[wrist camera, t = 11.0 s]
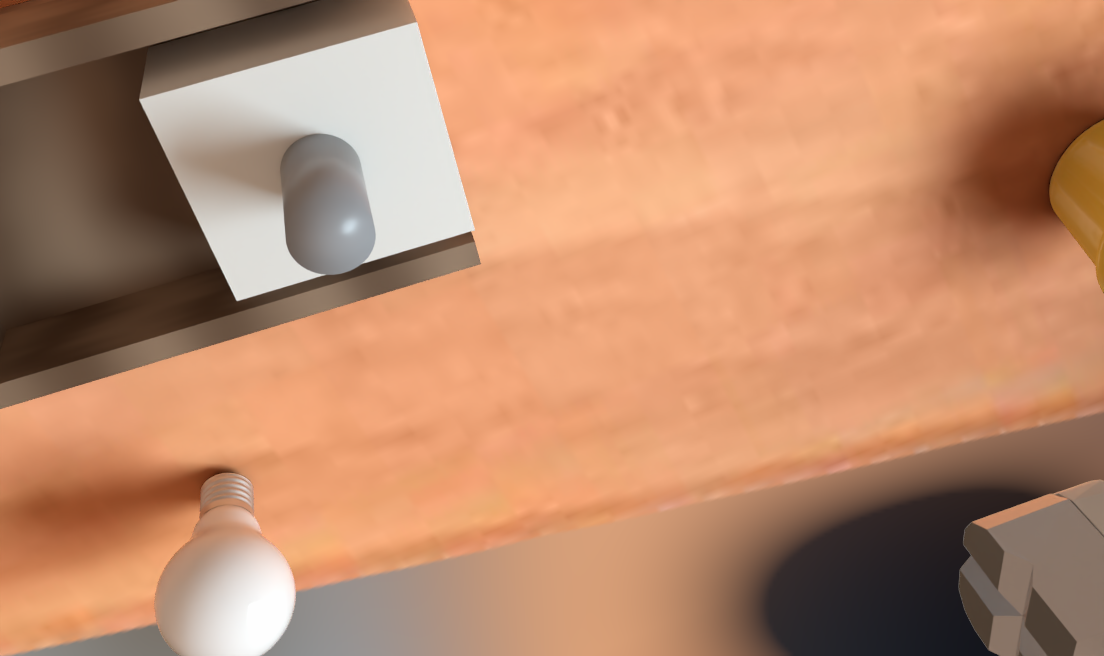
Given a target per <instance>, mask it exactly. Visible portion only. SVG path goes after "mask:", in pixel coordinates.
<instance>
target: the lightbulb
mask: <svg viewBox="0 0 1104 656" xmlns="http://www.w3.org/2000/svg"><path fill="white" fill-rule="evenodd" d="M200 494H201V496H200V516H199V521H198V522H197V524H196V525H195V528H194V530H193V533H192V536H191V539H190V540H189V541H188V542H187V543H186V544H185V545H184V546H182V547H181V548H180V549H179V550H178V551H177V552H176V553H175V554H174V556H173V557H172V558H171V559H170V561H169V562H168V563H167V565H166V566H165V568H164V570H163V572H162V574H161V576H160V578H159V581H158V584H157V588H156V593H155V601H154V609H155V617H156V621H157V625H158V627H159V630H160V632H161V635H162V636H163V638H164V640H165V641H166V643H167V644H168V645H169V647H170V648H171V649H172V650H173V651H174V652H175V653H176V654H178V655H179V656H262V655H263V654H265V653H266V652H267V651H269V650H270V649H271V648H272V647H273V646H274V645H275V644H276V643H277V641H278V640H279V639H280V638H281V637H282V635H283V634H284V632H285V630H286V629H287V627H288V625H289V622H290V620H291V618H292V614H293V611H294V607H295V599H296V598H295V597H296V589H295V581H294V577H293V573H292V570H291V568H290V566H289V564H288V562H287V560H286V558H285V557H284V555H283V554H282V553H281V552H280V551H279V549H278V548H277V547H276V546H275V545H274V544H272V543H271V542H270V541H269V540H268V539H266V538H265V537H264V536H263V535H262V532H261V528H260V526H259V523H258V521H257V520H256V518H255V517H254V489H253V485H252V483H251V482H250V481H249V480H248V479H247V478H246V477H244V476H242V475H239V474H236V473H222V474H218V475H215V476H213V477H211V478H209V479H208V480H207V481H205V483H204V484H203V485H202V488H201V492H200Z"/></svg>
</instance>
